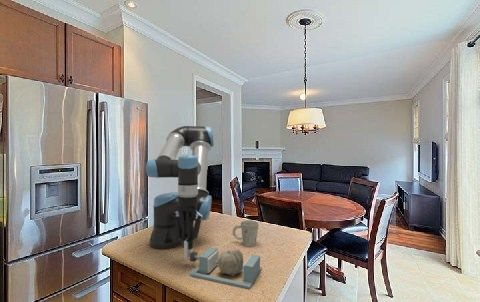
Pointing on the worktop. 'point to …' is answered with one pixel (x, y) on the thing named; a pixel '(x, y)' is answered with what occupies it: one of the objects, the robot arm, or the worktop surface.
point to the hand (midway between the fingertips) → (187, 256)
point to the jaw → (206, 260)
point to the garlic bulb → (230, 262)
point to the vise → (249, 274)
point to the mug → (248, 232)
